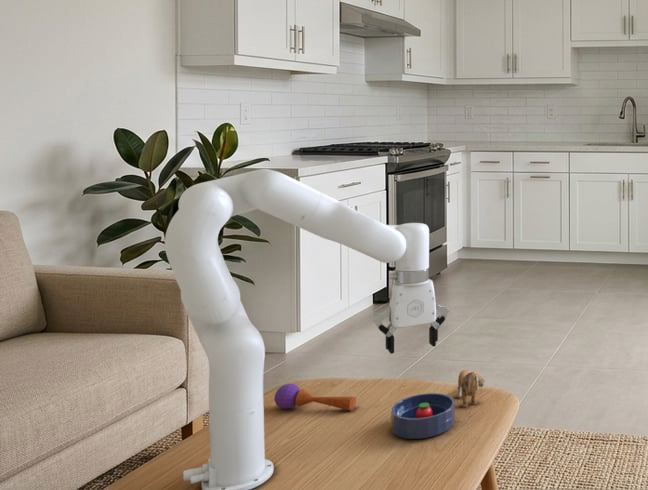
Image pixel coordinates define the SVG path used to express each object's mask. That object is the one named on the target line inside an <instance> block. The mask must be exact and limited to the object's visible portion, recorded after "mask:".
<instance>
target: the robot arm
mask: <svg viewBox="0 0 648 490" xmlns="http://www.w3.org/2000/svg"><path fill="white" fill-rule="evenodd" d="M177 206H178V210H177V211H176V212H175V214H174V215H173V216H172V217H171V219H170V221H169V224H168V227H167V229H166V232H165V236H164V250H165V254H166V257H167V260H168V263H169V266H170V268H171V271H172V273H173V275H174V278H175V281H176V283H177V285H178V288H179V290H180V301H181V303H182V305H183V308H184V310H185V313H186V314H187V317H188V319H189V321H190V323H191V325H192V327H193V329H194V332H195V333H196V336H197V338H198V341H199V342H200V344H201V346H202V349H203V351H204V352H205V354H206V357H207V360H208V417H209V419H208V423H209V427H208V428H209V457H208V459H207V460H208V461H207V463H203V464H202V466H200V467H195V468H189V469H186V470H183V471H182V472H183V473H182V474H183V482H187V481H190V484H196V483H199V482H201V490H252V489H254V488H257V487H259V486H260V485H262V484H263V483H265V482H266V481H268V480H269V479H270V478H271V477H272V475H273V473H274V470H275V469H274V466H275V465H274V463H273V462H272V461H271V460H269V459H267V458H266V456H265V455H266V454H265V453H266V451H265V446H266V445H265V408H264V407H265V406H264V405H265V404H264V403H265V401H264V399H265V398H264V370H265V360H266V347H265V342H264V338H263V336H262V335H261V333H260V330H258V329H257V327H255V325H254V324H252V322H251V320H250V319H249V316H248V314H247V312H246V310H245V308H244V305H243V303H242V301H241V291H240V288H239V286H238V284H237V282H236V281H235V280H234V278H233V277H232V275H231V273H230V270H229V268H228V266H227V263H226V261H225V259H224V256H223V253H222V251H221V248H220V246H219V234H220V231H221V230H222V228H223V227H224V226H225V225H226V223H227V222H228V221H229V220H230V218H231V217H235V216H238V215H242V214H246V213H249V212H253V211H255V210H259V211H261V212H263V213H265V214H268V215H271V216H272V217H275V218H277V219H279V220H281V221H283V222H286V223H289V224H291V225H293V226H295V227H298V228H300V229H302V230H303V231H306V232H308V233H310V234H313V235H315V236H318V237H320V238H322V239H324V240H329V241H331V242H335V243H337V244H340V245H343V246H345V247H347V248H349V249H352V250H355V251H356V252H358V253H361V254H363V255H365V256H368V257H370V258H372V259H374V260H376V261H378V262H380V263H385V264H390V263H395V268H394V271H393V272H392V273H389V275H388V278H389V280H393V281H394V282H393V283H392V285H391V290H390V297H389V306H388V308H387V309H385V310H384V311H382V312H380V313H379V314H377V315H376V316H374V317H373V322H374V324H375V326H376V327H377V330H379V331H380V332H381V333H382V334H384V335H385V349H386V350H387V351H388V352H389V354H390V355H392V354H395V335H394V333H395V332H396V330H397V329H406V328H413V327H419V326H426V325H430V326H429V327H428V343H429V345H430V346H432V347H436V346H437V342H438V341H439V329H440V327H441V325H442V324H443V323H444V322H445V321H446V317H447V316H448V314H449V312H450V309H449V308H448V307H447V306H446V305H445V306H444V305H442V304H439V303H437V302H436V293H435V292H436V291H435V286H434V281H433V279H430V228H429V226H428V225H427V224H426V223H422V222H408V223H401V224H385V223H383V222H381V221H378V220H377V219H374V218H372V217H370V216H368V215H366V214H364V213H362V212H361V211H358V210H356V209H354V208H352V207H351V206H349V205H348V204H346V203H344V202H342V201H340V200H338V199H337V198H334V197H332V196H330V195H329V194H326V193H324V192H322V191H319V190H318V189H316V188H314V187H311V186H309V185H307V184H305V183H303V182H301V181H299V180H297V179H295V178H293V177H291V176H289V175H287V174H284V173H283V172H280V171H277V170H273V169H270V168H260V169H255V170H249V171H246V172H243V173H239V174H235V175H230V176H226V177H220V178H217V179H213V180H207V181H204V182H203V181H202V182H200V183H196V184H194V185H191V186H190V187H188V188H187V189H185V190H184V191H183V192H182V193H181V195H180V197H179V200H178V205H177ZM437 311H439V312H440V315H439V316H437ZM387 318H388V322H389V323H388V325H387V326H386V325H384V324H383V321H384V320H385V319H387Z"/></svg>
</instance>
